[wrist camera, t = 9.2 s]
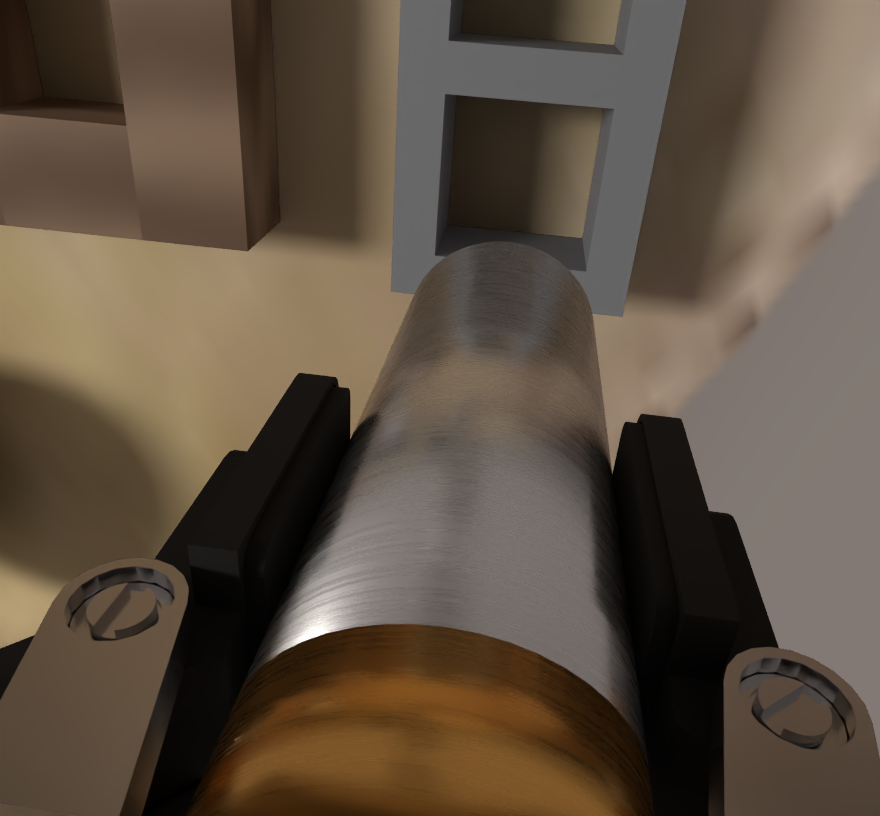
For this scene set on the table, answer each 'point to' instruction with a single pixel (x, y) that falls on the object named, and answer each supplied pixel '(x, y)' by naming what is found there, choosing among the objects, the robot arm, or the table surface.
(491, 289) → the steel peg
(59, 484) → the table surface
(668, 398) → the table surface
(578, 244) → the gray cinder block
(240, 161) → the socket block
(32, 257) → the table surface
